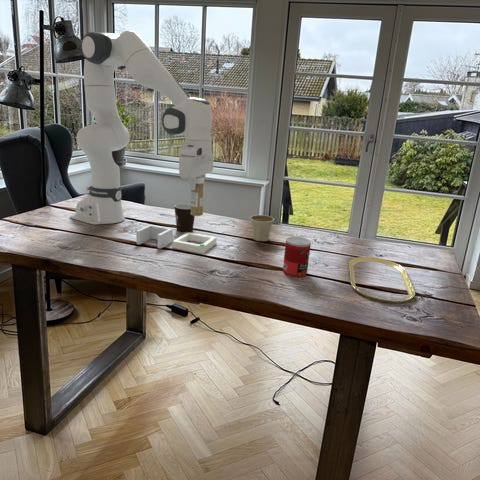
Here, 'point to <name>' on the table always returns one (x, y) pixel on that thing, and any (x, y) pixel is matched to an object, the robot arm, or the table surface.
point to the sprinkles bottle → (197, 198)
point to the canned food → (296, 256)
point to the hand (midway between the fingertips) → (197, 188)
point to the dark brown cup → (184, 218)
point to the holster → (155, 235)
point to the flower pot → (261, 227)
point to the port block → (184, 245)
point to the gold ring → (389, 263)
